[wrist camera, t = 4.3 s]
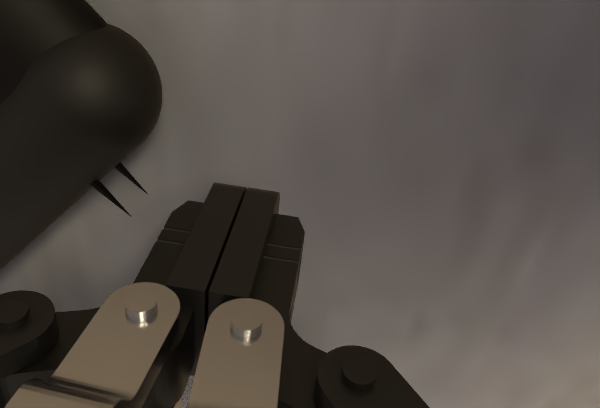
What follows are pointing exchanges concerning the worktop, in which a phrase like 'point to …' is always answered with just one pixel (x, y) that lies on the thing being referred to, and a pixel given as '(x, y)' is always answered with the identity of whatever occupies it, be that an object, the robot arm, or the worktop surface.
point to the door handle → (65, 111)
